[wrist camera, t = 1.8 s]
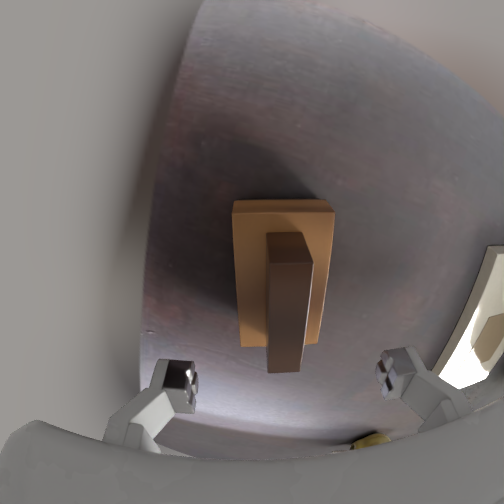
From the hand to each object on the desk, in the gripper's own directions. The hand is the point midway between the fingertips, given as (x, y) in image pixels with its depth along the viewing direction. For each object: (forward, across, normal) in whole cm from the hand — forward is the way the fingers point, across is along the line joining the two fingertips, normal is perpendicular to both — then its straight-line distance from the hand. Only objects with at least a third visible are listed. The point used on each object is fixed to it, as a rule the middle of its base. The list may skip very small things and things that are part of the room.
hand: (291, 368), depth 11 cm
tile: (+8, -24, +8) cm, 27 cm away
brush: (+8, 0, 0) cm, 8 cm away
